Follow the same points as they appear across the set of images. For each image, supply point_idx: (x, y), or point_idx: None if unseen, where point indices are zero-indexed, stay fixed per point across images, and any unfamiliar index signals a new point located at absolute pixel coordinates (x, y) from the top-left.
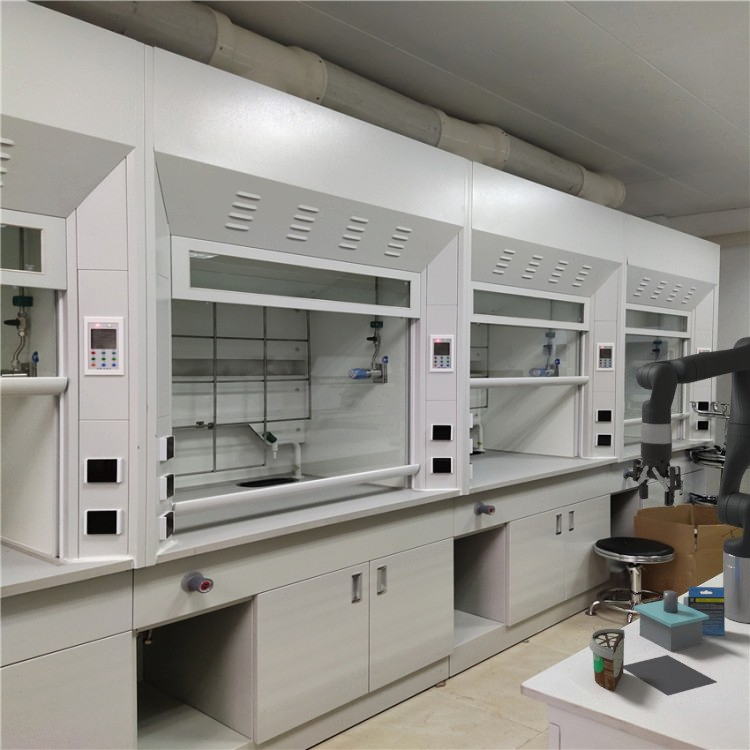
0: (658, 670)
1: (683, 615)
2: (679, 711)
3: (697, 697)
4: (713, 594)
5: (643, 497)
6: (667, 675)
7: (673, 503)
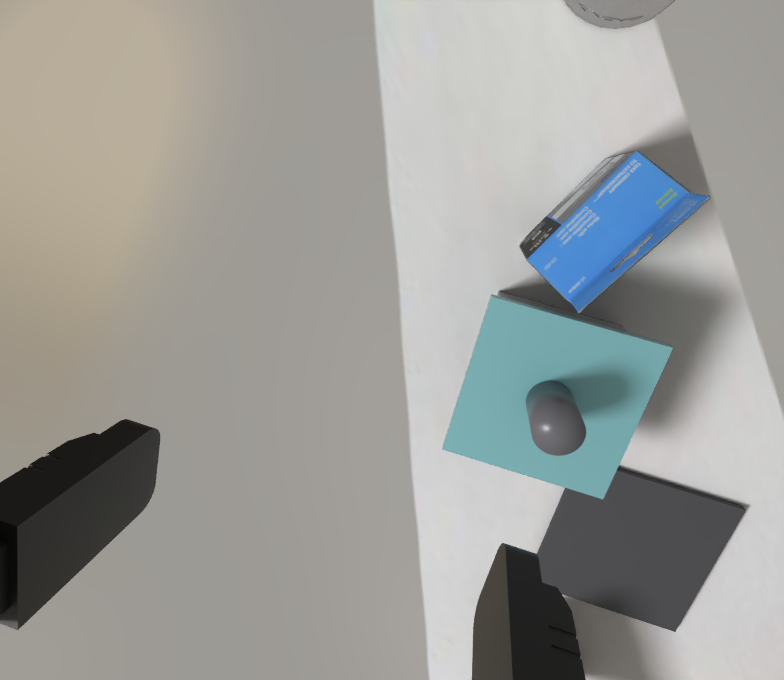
0: (604, 546)
1: (601, 408)
2: (716, 656)
3: (724, 586)
4: (655, 230)
5: (142, 493)
6: (633, 555)
7: (558, 590)
